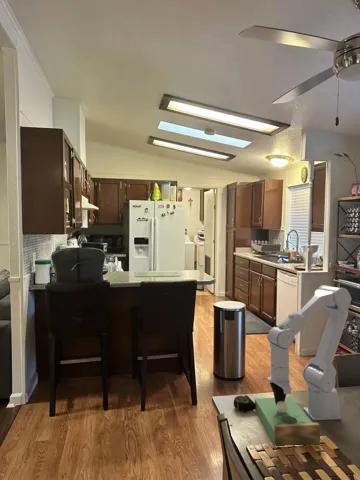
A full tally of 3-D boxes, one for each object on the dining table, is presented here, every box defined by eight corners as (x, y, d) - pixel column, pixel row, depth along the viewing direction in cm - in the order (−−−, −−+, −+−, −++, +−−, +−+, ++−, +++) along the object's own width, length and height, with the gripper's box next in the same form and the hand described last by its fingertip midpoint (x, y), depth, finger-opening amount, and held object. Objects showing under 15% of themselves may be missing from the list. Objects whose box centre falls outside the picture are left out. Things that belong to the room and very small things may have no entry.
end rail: (318, 443, 98) (317, 422, 98) (320, 445, 97) (319, 424, 97) (274, 445, 97) (274, 424, 97) (276, 447, 96) (275, 426, 96)
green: (290, 408, 119) (290, 396, 119) (320, 445, 97) (319, 431, 97) (254, 409, 118) (254, 398, 118) (276, 447, 96) (275, 433, 96)
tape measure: (256, 412, 116) (256, 402, 116) (238, 415, 115) (238, 404, 115) (248, 403, 123) (248, 393, 123) (231, 405, 122) (230, 395, 122)
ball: (285, 401, 111) (287, 399, 108) (288, 413, 109) (290, 411, 106) (274, 402, 111) (275, 400, 108) (277, 414, 109) (278, 412, 106)
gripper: (261, 357, 117) (261, 396, 117) (275, 373, 102) (275, 418, 102) (281, 357, 117) (281, 396, 117) (297, 373, 103) (297, 417, 102)
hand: (279, 406), depth 110 cm, fingers closed, pressing on ball
